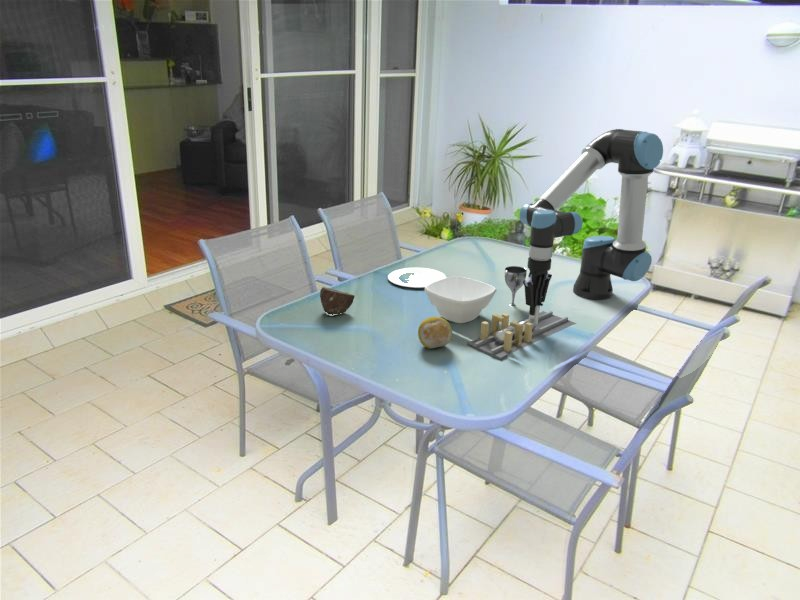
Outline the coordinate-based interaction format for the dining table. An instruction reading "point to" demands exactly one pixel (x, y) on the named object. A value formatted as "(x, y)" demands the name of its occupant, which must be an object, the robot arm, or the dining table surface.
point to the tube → (500, 335)
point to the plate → (416, 277)
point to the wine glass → (515, 279)
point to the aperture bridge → (517, 326)
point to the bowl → (459, 297)
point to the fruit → (434, 332)
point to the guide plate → (544, 328)
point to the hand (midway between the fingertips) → (533, 322)
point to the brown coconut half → (335, 300)
